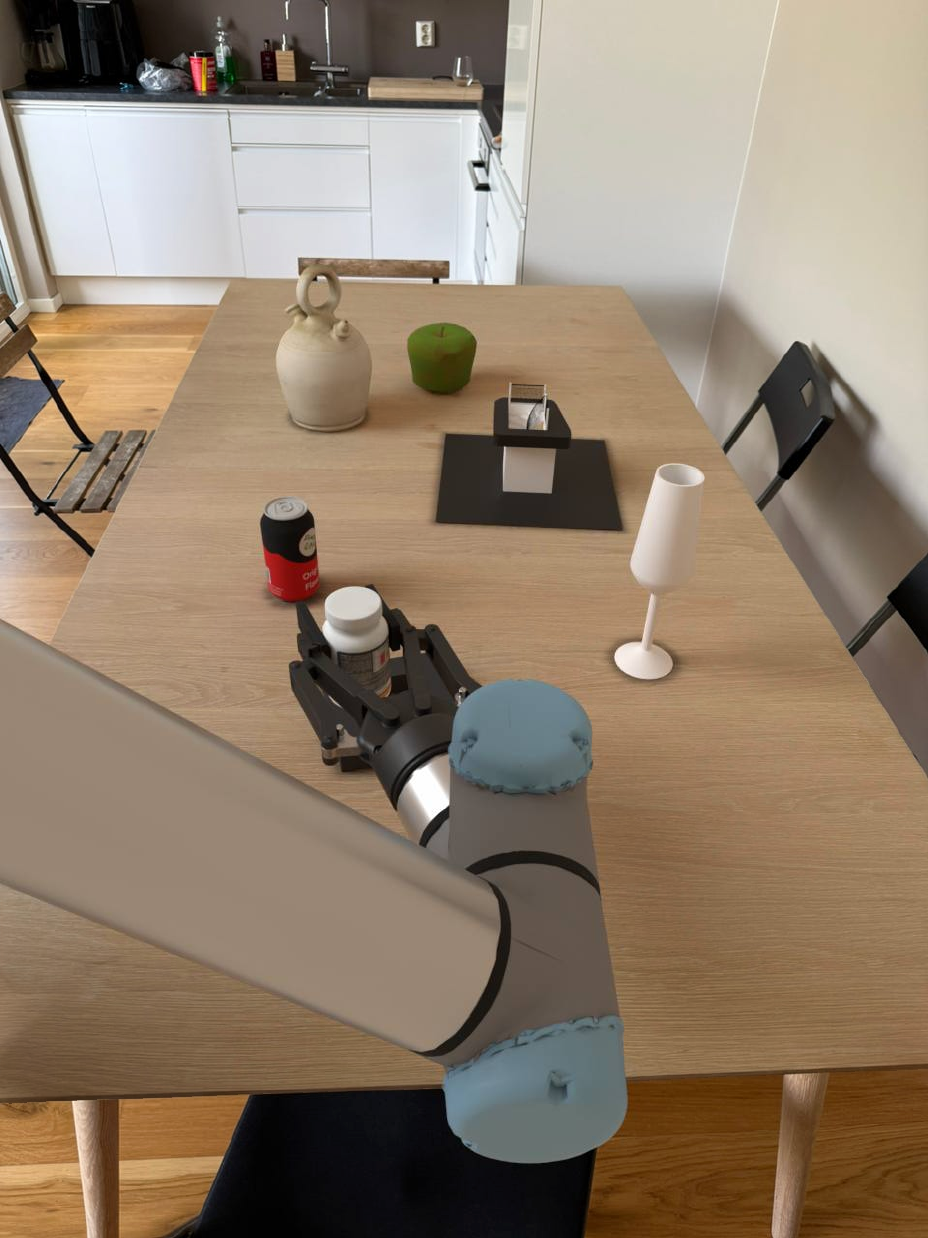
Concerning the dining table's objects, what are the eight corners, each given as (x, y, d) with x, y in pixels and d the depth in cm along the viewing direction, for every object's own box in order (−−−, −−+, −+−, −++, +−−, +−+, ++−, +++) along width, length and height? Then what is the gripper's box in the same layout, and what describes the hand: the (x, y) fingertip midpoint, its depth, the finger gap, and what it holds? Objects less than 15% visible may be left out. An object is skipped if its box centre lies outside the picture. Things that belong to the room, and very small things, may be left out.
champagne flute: (610, 672, 101) (642, 485, 86) (618, 637, 106) (649, 454, 91) (670, 684, 99) (713, 496, 85) (675, 648, 104) (716, 464, 90)
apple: (419, 370, 168) (419, 310, 161) (482, 378, 166) (484, 318, 159) (398, 396, 159) (397, 333, 152) (464, 405, 156) (466, 342, 149)
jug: (270, 407, 154) (253, 256, 138) (354, 392, 159) (347, 246, 144) (298, 444, 143) (284, 285, 128) (387, 427, 149) (383, 273, 133)
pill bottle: (402, 682, 80) (401, 593, 74) (371, 722, 76) (366, 631, 70) (347, 663, 82) (342, 575, 76) (314, 701, 78) (305, 611, 72)
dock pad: (341, 772, 87) (340, 754, 86) (321, 686, 97) (319, 669, 96) (468, 748, 91) (469, 731, 89) (436, 667, 100) (436, 650, 99)
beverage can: (275, 610, 108) (264, 525, 101) (264, 581, 113) (253, 499, 105) (325, 599, 110) (318, 516, 103) (313, 572, 114) (305, 490, 107)
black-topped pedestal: (622, 530, 125) (636, 443, 117) (435, 522, 125) (436, 435, 117) (604, 440, 147) (614, 362, 139) (445, 434, 147) (447, 355, 139)
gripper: (319, 864, 62) (236, 664, 78) (553, 782, 68) (431, 613, 85) (311, 791, 57) (225, 595, 73) (562, 710, 64) (432, 547, 80)
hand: (335, 605), depth 79 cm, fingers closed on pill bottle, 6 cm apart
